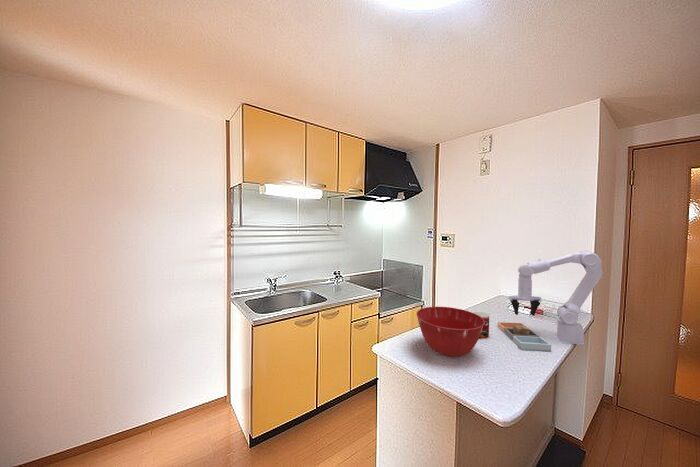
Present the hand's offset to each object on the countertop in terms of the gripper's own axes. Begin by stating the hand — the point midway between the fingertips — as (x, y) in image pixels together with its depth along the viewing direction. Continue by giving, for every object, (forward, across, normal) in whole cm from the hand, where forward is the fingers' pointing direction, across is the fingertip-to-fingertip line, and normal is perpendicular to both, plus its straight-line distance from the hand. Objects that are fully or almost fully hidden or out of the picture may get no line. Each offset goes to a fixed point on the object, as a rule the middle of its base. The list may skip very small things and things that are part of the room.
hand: (524, 314), depth 136 cm
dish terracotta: (+10, +4, -3) cm, 11 cm away
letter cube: (+9, +4, +6) cm, 12 cm away
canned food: (+10, +23, +6) cm, 26 cm away
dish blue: (+10, +4, +15) cm, 18 cm away
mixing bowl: (+10, +42, +24) cm, 49 cm away
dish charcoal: (+10, +4, +6) cm, 12 cm away
